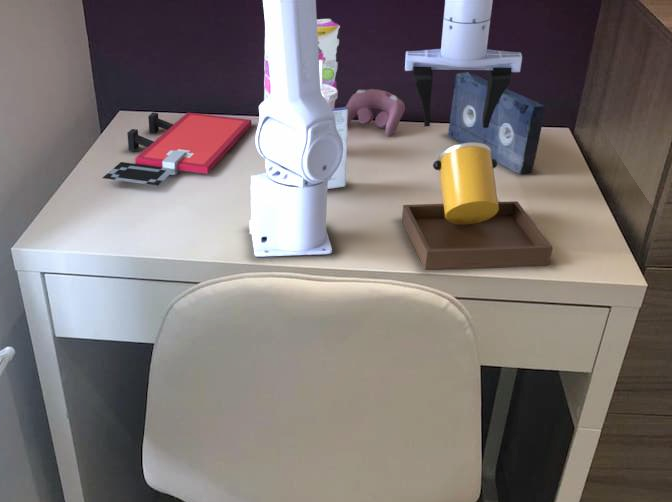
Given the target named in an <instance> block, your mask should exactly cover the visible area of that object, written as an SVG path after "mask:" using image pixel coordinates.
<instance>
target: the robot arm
mask: <svg viewBox="0 0 672 502" xmlns="http://www.w3.org/2000/svg"><path fill="white" fill-rule="evenodd" d="M493 2H494V0H444V8H443V9H444V11H443V19H442V20H443V22H442V32H441V46H440V48H436V49H435V48H433V49H423V50H410V51H409V50H407V51H405V59H404V60H405V61H404V64H405V65H404V71H405V72H412V79H413V82H414V86H415V87H416V90H417V93H418V95H419V99H420V102H421V106H422V107H421V108H422V111H423V122H424V123H423V125H424V126H423V127H425V128H426V127H430V126H431V100H432V90H433V70H434V71H435V70H436V71H437V70H441V71H443V70H444V71H488V76H487V81H488V86H487V96H486V101H485V106H484V112H483V119H482V124H483V128H488V127H489V123H490V120H491V117H492V114H493V112H494V109H495V107H496V105H497V103H498V101H499V99H500V98H501V96H502V94H503V93H504V91H505V90H506V89H508V87H509V85H510V83H511V81H512V73H521V69H522V62H523V54H522V52H519V51H505V50H495V49H488V43H489V34H490V26H491V18H492V10H493ZM262 4H263V5H262V7H263V15H264V28H265V27H266V38H267V49H268V60H269V70H270V81H271V92H272V94H271V95H270V96H269V97H268V98H267V99H265V100H264V99H263V101H261V103H260V104H259V105H258V113H259V116H258V117H259V119H258V125H257V127H256V132H255V140H254V141H255V147H256V150H257V152H258V153H259V155H260V156H261V157H262V158H263V159H265V160H264V165H265V167H264V168H265V170H266V169H267V170H268V172H266V171H265V172H261V173H257V174H256V173H255V174H252V175H250V219H249V221H248V225H249V228H248V229H249V235H251V240H252V246H253V253H254V256H255V257H258V258H259V257H263V258H264V257H285V256H286V257H287V256H289V257H290V256H312V255H313V256H315V255H316V256H318V255H332V254H333V248H332V244H331V241H330V238H329V235H328V234H329V233H328V231H327V211H328V210H327V209H328V190H329V189H328V180H330V179H331V178H332V175H333V174H334V173H335V171H336V170H337V168H338V167H339V165H340V162H341V159H342V156H343V142H342V139H341V137H340V135H339V133H338V132H337V129H336V123H335V115H334V113H333V111H332V109H331V108H330V106H329V105H328V103H327V102H326V100H325V99H324V97H323V95H322V94H321V89H320V70H319V52H318V34H317V19H318V18H317V17H318V16H317V0H262Z"/></svg>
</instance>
